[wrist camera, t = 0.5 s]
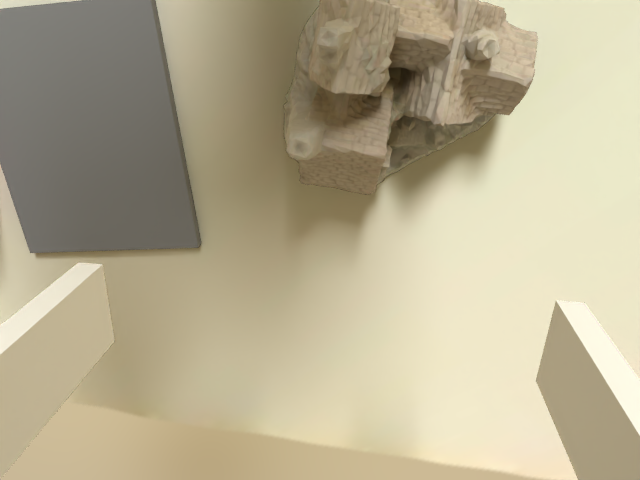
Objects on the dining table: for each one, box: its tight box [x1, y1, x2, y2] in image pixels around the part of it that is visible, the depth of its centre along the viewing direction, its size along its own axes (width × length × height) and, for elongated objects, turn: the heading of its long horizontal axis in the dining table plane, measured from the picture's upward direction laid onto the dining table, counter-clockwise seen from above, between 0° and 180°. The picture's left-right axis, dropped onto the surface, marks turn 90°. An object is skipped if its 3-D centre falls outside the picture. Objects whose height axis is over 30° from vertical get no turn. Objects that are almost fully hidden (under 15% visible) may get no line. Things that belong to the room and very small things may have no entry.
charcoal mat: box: [0, 0, 201, 253], centre depth 42 cm, size 20×16×1 cm
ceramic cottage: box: [283, 0, 538, 195], centre depth 32 cm, size 16×16×15 cm
